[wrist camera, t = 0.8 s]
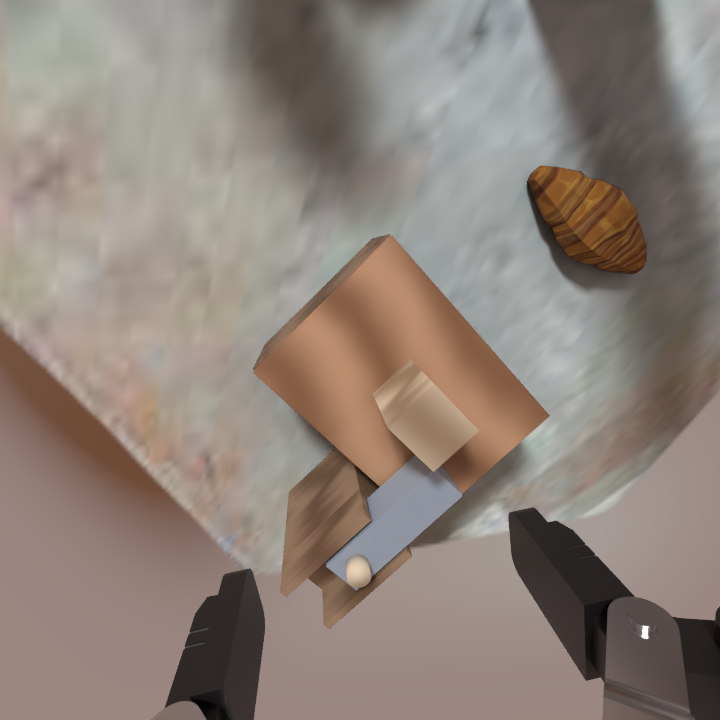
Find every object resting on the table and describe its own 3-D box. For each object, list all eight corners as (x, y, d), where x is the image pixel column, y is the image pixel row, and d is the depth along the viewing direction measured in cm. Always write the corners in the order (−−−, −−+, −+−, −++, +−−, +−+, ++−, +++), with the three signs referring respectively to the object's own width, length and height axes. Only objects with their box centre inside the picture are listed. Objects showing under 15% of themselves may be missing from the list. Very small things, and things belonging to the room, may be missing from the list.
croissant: (500, 209, 36) (529, 202, 32) (549, 141, 35) (587, 123, 31) (603, 298, 40) (644, 305, 35) (651, 238, 39) (700, 236, 34)
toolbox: (372, 238, 35) (403, 230, 23) (499, 380, 40) (579, 434, 28) (194, 414, 37) (140, 489, 25) (335, 530, 42) (345, 640, 30)
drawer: (422, 447, 30) (440, 477, 26) (448, 473, 31) (469, 505, 27) (324, 537, 31) (326, 579, 27) (352, 560, 32) (358, 604, 28)
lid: (389, 236, 28) (414, 230, 21) (542, 410, 32) (604, 452, 25) (255, 368, 29) (238, 403, 22) (421, 519, 33) (449, 586, 27)
